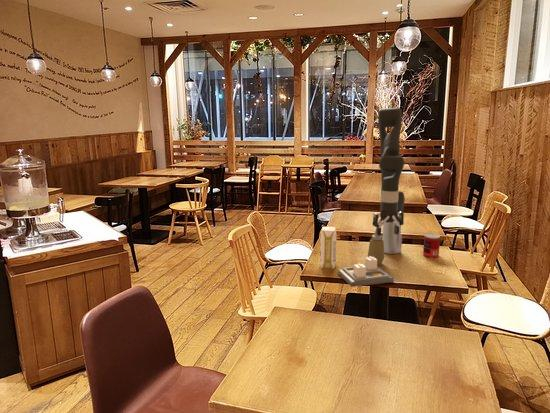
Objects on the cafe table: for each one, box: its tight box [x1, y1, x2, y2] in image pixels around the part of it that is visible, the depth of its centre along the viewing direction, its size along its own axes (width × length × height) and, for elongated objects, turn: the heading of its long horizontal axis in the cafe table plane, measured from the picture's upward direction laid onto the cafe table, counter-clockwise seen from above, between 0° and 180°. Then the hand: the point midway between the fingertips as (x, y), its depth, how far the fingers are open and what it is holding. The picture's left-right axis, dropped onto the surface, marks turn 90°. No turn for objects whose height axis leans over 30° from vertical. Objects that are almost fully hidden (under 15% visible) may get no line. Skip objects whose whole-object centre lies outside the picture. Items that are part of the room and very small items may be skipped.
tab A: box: [364, 256, 378, 270], centre depth 192 cm, size 4×4×6 cm
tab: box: [353, 262, 366, 278], centre depth 183 cm, size 4×4×6 cm
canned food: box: [422, 233, 441, 259], centre depth 215 cm, size 8×8×11 cm
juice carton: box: [319, 226, 337, 270], centre depth 201 cm, size 8×9×19 cm
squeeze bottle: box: [367, 227, 385, 266], centre depth 204 cm, size 8×8×18 cm
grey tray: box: [337, 264, 395, 288], centre depth 188 cm, size 20×15×3 cm
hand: (387, 234), depth 191 cm, fingers open, 8 cm apart
